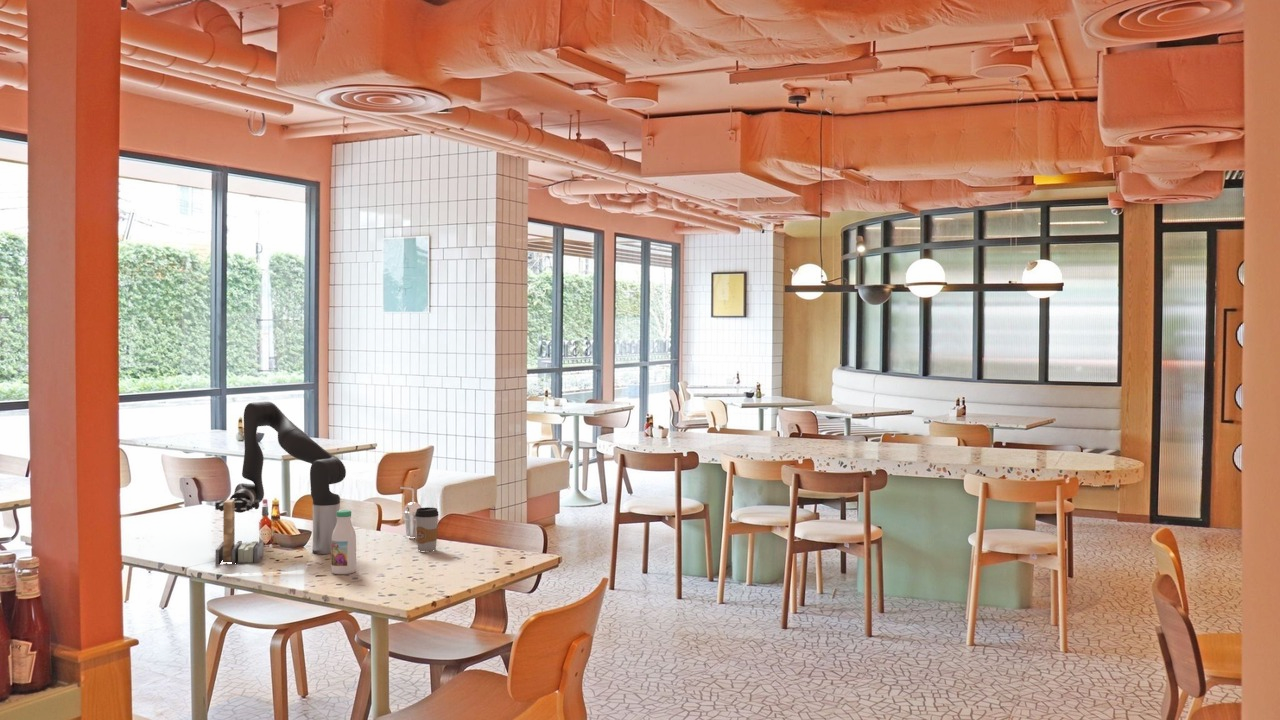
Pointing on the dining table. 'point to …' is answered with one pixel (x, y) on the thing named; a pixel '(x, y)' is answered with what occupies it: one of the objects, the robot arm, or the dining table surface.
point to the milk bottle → (343, 545)
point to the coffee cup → (426, 528)
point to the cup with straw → (410, 515)
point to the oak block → (228, 530)
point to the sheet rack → (219, 553)
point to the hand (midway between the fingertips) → (234, 508)
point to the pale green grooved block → (246, 552)
